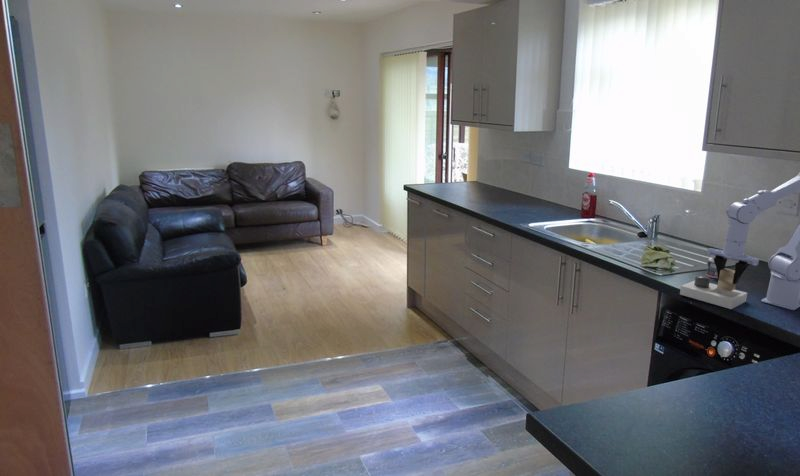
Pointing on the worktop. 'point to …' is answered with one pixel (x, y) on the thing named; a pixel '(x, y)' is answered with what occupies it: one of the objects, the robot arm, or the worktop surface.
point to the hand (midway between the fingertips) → (727, 281)
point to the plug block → (726, 279)
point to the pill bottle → (711, 268)
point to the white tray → (712, 293)
